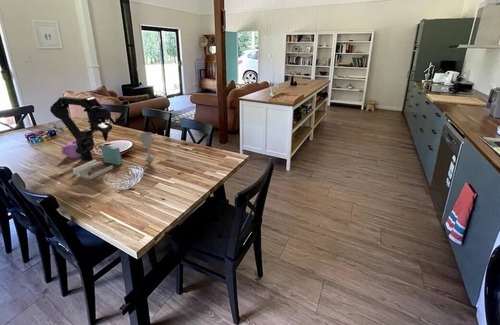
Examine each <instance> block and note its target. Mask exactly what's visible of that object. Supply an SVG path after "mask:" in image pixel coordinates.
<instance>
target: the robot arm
mask: <svg viewBox="0 0 500 325" xmlns="http://www.w3.org/2000/svg"><path fill="white" fill-rule="evenodd" d="M70 105H72V106H80V107H81V108H82V109H83V108H84V109H83V111H82V112H84V113H86V114H87V118H88V120H87V123H88V124H89V126H90V127H89V130H88V129H84V130H81V129H80V128H79V126H77V124H76V123H75V122H74V120H73V119H72V118H71V116H70V112H69V109H68V108H69V107H70ZM49 111H50V113H51V114H52V115H53V116H54V117H56V119H59V120H61V122H62V123H63V124H64V126H65V127H66V128H67V129H68V131H69V132H70V134H71V135H72V136H73V137H74V140H76V144H77V146H78V147H77V149H76V150H75V151H76V153H77V154H80V155H81V160H82V161H84V162H85V161H88V162H91V161H93V160H94V159H93V154H92V151H93V150H94V146H95V142H94V135H93V134H94V133H97V132H100V133H101V134H102V136H103V139H104V141H105V142H107V141H108V135H109V133H110V132H111V131H112V130H113V128H114V127H113V125H112V124H110V122H109V120H110V119H111V117H112V115H111V112H110V110H108V109H107V107H103V106H102V105H101V104H100V102H99V101H98V100H97V99H96V97H93V96H90V97H85V98H84V97H83V98H81V97H70V96H61V97H59V98H58V99H57V100H56V101H55V102H54V103H53V104H52V105H51V106H50V110H49ZM103 120H104V121H105V120H106V121H108V122H103Z"/></svg>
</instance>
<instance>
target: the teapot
mask: <svg viewBox="0 0 500 325" xmlns="http://www.w3.org/2000/svg"><path fill="white" fill-rule="evenodd" d="M77 147H78V146H77V144H76V139H73V140H71V141H69V142H67V143H66V144H65V145H63V146H61V147H60V148H61V154H62V155H64V156H67V157H68V158H69V159H73V160H74V159H80V158H81V155H80V154H77V153H76V151H75V150H76V149H77Z"/></svg>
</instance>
